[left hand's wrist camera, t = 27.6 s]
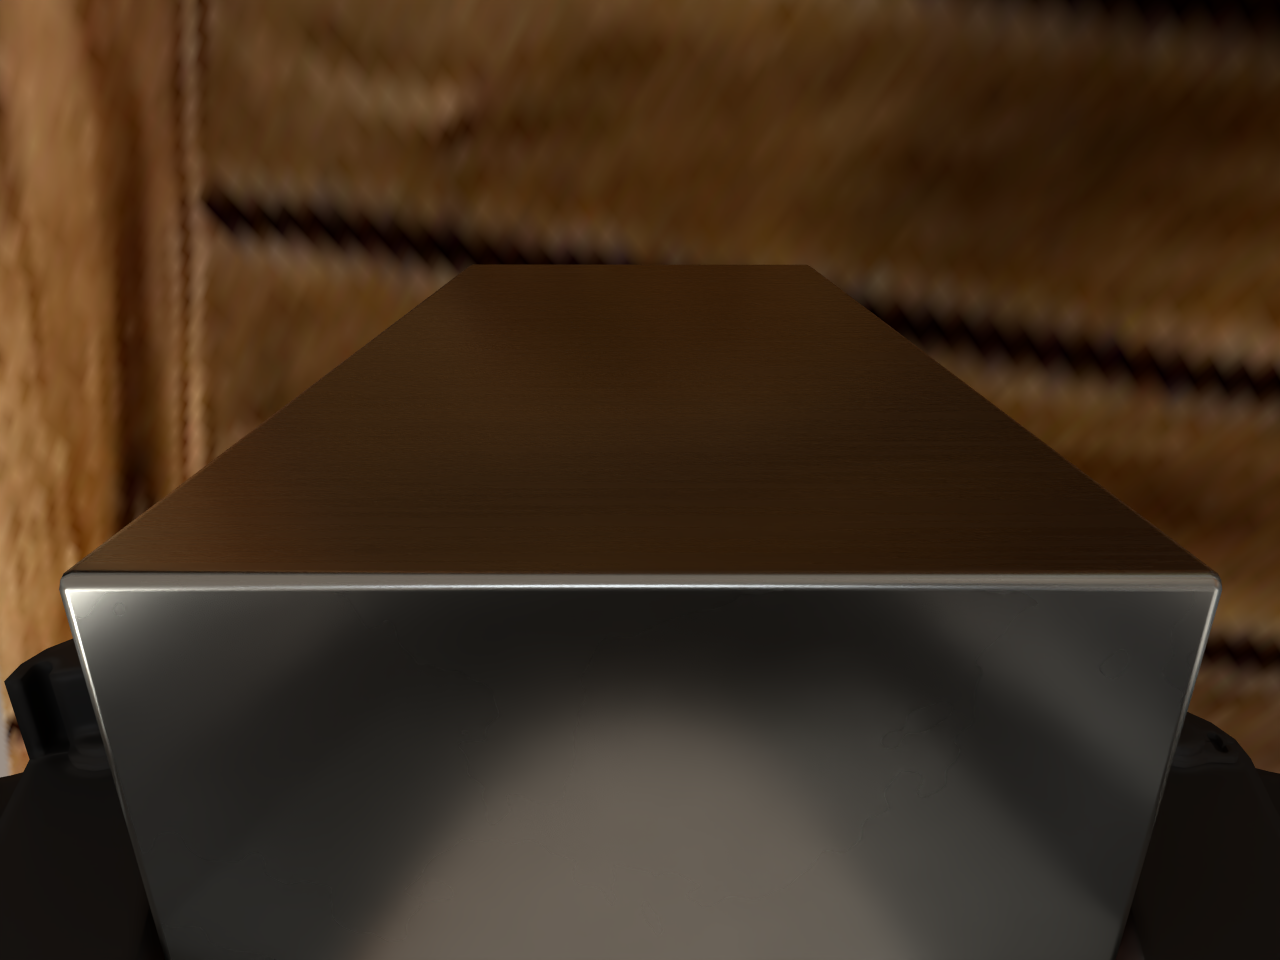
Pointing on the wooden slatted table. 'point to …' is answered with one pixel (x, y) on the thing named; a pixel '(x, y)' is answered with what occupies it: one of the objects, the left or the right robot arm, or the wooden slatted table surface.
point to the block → (640, 647)
